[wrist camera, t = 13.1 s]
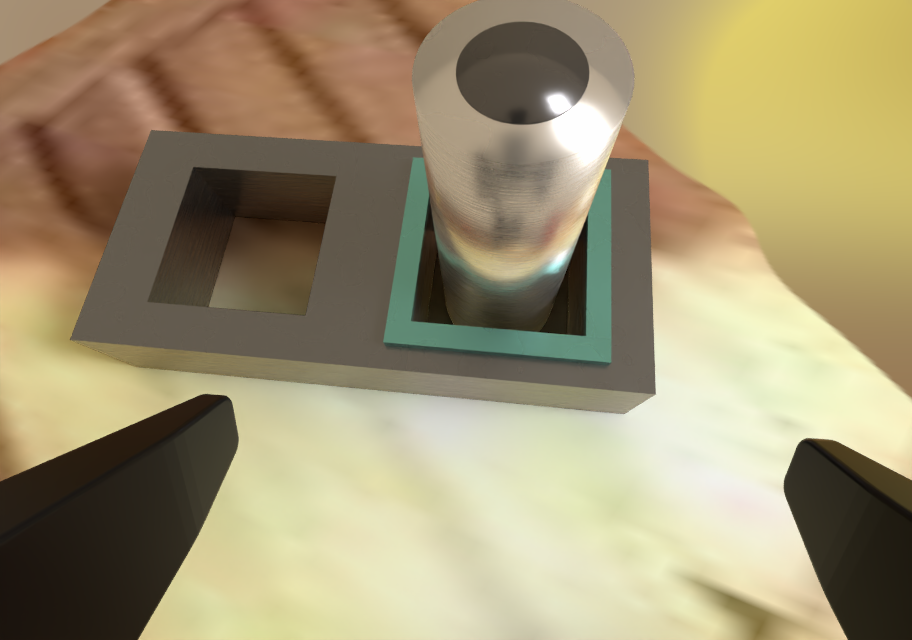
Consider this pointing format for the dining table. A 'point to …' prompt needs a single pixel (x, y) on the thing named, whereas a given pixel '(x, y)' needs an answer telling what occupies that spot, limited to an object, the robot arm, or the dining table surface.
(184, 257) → the jig plate
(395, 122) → the dining table surface
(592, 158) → the steel sleeve
